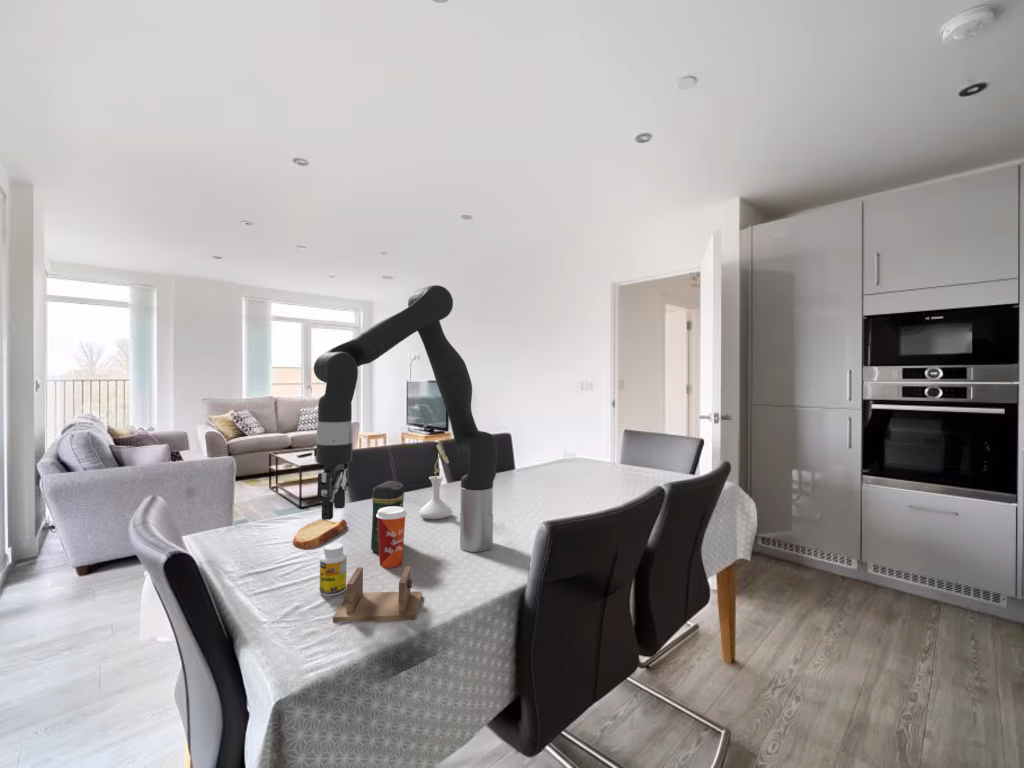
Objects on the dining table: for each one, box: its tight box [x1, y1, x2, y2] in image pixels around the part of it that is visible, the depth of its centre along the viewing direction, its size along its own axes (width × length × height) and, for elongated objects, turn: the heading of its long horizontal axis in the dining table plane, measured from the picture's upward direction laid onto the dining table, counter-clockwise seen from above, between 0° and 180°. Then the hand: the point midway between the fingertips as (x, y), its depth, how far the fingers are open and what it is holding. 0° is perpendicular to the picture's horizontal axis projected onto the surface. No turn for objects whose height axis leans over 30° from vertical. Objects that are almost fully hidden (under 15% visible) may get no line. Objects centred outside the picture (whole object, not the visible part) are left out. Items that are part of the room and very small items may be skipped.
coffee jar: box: [370, 480, 405, 554], centre depth 127 cm, size 10×8×19 cm
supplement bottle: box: [319, 542, 348, 597], centre depth 101 cm, size 6×6×10 cm
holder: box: [332, 565, 423, 623], centre depth 94 cm, size 16×10×7 cm, turn 94°
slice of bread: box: [292, 518, 348, 550], centre depth 136 cm, size 18×18×4 cm
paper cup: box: [376, 506, 408, 569], centre depth 116 cm, size 8×8×14 cm
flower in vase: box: [418, 443, 453, 520], centre depth 157 cm, size 13×11×25 cm
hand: (333, 513), depth 101 cm, fingers open, 8 cm apart
